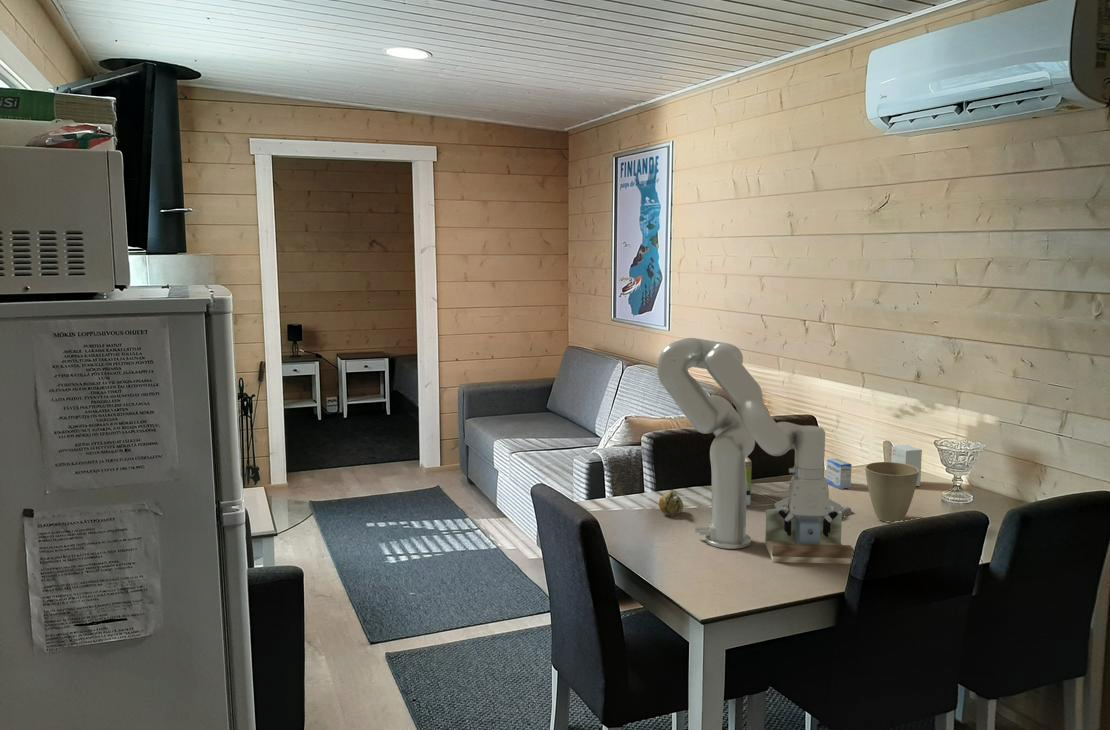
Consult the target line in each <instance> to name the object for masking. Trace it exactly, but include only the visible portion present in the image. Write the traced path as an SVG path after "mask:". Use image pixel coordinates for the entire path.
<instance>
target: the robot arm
mask: <svg viewBox="0 0 1110 730" xmlns="http://www.w3.org/2000/svg"><path fill="white" fill-rule="evenodd" d="M743 361H744V356H743V353H742V351H741V350H740V349H739V348H738V347H737V346H736V345H735V344H732V343H727V342H720V341H714V340H710V339H703V338H696V337H687V338H683V339H678V340H676V341H673V342H671V343H669V344H667V345H666V346H665V347H664V348H663V350H661V353H660V354H659V357H658V360H657V363H656V364H657V365H656V373H657V376H658V379H659V382H660V384H661V385H662V386H663V388H664V390H665V391H666V392H667V393H668V395H669V396H670V397H671V398H672V400H673V401H674V403H675V404H676V405H677V406H678V408H679V409H680V411H681V412H682V414H683V415H684V416H685V417H686V419H687V420H688V421H689V423H690V424H691V425H692V427H693V428H694V429H695V430H696V431H697V432H699V433H701V434H704V435H705V434H713V435H714V436H715V438H714V439H713V440H712V442H711V445H710V448H709V460H710V467H711V469H710V470H711V511H710V513H711V515H710V516H711V518H710V519H711V521H710V522H709V524H706V525H705V526H702V525H695V526H694V533H695V534H697V533H698V534H699V536H705V541H706V543H707V544H709V545H711V546H713V547H716V548H719V549H720V548H721V549H729V550H732V549H735V550H737V549H744V548H746V547H749V546H750V545H751V544H752V538H751V536H750V535H749V534H747V533H746V532H747V529H746V528H747V505H746V487H747V478H746V467H745V458H746V457H748V456H749V455H751V453H752V452H753V451H754V449H755V445H756V444H758V446H759V447H760V448H761V449H762V451H764V452H765V453H766V454H768V455H770V456H773V457H780V456H783V455H785V454H787V452H789V451H790V450H794V465H793V466H792V467H789V468H788V473H789V474H793V475H792V476H791V478H790V483H789V489H788V496H787V497H785V498H783V499H781V500H779V501H777V502H775V503H774V507H775V509H777V511H778V513H779V514H780V515H781V516H782V517H783V518H784V519H785V522H784V531H785V532H787V534H788V536H790V535H791V520H790V519H791V518H792V517H793V516H815V517H823V516H824V517H825V519H824V520H823V534H824V535H825V536H826V537H828V533H830V525H831V522H832V520H833V519H834V518H835V517H836V516H837V515H838V513H839V512H840V510H841V508H842V504H841V503H838V501H835V500H833V499H830V493H829V491H830V490H829V484H828V482H827V479H826V477H825V455H826V454H825V453H826V452H825V451H826V431H825V430H824V428H822V427H820V426H818V425H800V424H796V423H792V422H788V421H778V422H776V421H775V419H773V417H772V416H771V414H770V413H769V412H768V410H767V407H766V406H765V403H764V400H763V398H764V397H763V391H762V388H761V385H760V384H759V382H757V380H756V379H755V378H754V377H753V376H752V375H751V373H750V372H749V371H748V370H747V369H746V367H745V365H743V363H744V362H743ZM692 368H698V369H702V370H703V369H704V370H706V371H707V372H708V374H709V375H710V376H711V377H712V378H713V380H714V381H715V382H716V384H717V385H718V386H719V387H720V388H721V390H722V391H723V392H724V394H725V395H726V396H727V397H728V398H729V400H730V401H731V402H732V403H733V405H734V406H735V408H734V407H733V405H732V404H731V402H729V401H728V400H727V399H725V398H724V397H723V396H720V395H716V394H715V395H714V394H712V395H709V394H708V393H707V392H706V391H705V390H704V388H703V387H702V386H701V384H700V382H698V381H697V379H695V378H694V377H693V376H692V375H691V374H690V373H689V369H692ZM786 505H788V509H789V510H788V511H787V512H786V513H785V512H784V511H783V510H782V509H781V507H784V506H786ZM829 505H831V506H833V507H834V510H833V511H832V512H831V513H830V514H829Z"/></svg>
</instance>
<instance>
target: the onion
mask: <svg viewBox="0 0 1110 730" xmlns="http://www.w3.org/2000/svg"><path fill="white" fill-rule="evenodd" d="M658 507H659V510H660V511H661V512H662V513H663V514H664V515H665V516H669V515H674V516H677V515H679V514H681V513H682V511H683V509H684V502H683V500H682V499H681V497H680V496H679V494H678V493H677V492H675V491H672V490H670V491H669V492H667V493H665V494H663V495H662V496H661V497H660V498H659V500H658Z"/></svg>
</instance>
